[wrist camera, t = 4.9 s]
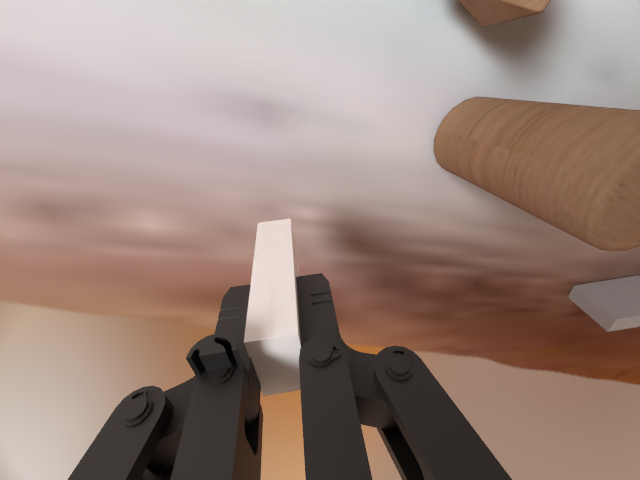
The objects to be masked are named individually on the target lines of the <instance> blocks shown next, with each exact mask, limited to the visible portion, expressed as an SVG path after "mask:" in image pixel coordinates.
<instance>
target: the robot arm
mask: <svg viewBox="0 0 640 480" xmlns="http://www.w3.org/2000/svg"><path fill="white" fill-rule="evenodd" d="M220 309H221V311H220V313H219V317H218V319H219V320H218V322H217V326H216V331H215V334H213V335H210V336H207V337H205V338H203V339H202V340H200V341H198V342H197V343H196V344H195V345H194V346H193V347H192V348H191V350H190V351H189V353H188V355H187V357H186V359H187V361H188V363H189V364H190V366H191V367H192V369H193V371H194V373H195V376H194V377H193V378H191V379H190V380H188V381H186V382H185V383H183V384H180V385H178V386H176V387H173V388H171V389H169V390H167V391H165V392H163V391H162V390H161V388H158V387H155V386H149V387H143V388H140V389H138V390H136V391H134V392H132V393H131V394H130V395H128V396H127V397H126V398H124V399H123V400H122V401H121V403H120V404H119V405H118V406H117V407H116V408H115V410H114V411H113V413H112V414H111V416H110V417H109V419H108V420H107V422H106V423H105V425H104V426H103V428H102V429H101V431H100V432H99V434H98V435H97V437H96V438H95V440H94V441H93V443H92V444H91V446H90V447H89V449H88V450H87V452H86V453H85V455H84V456H83V458H82V459H81V460H80V462H79V464H78V465H77V466H76V468H75V470H74V471H73V472H72V474H71V475H70V477H69V478H68V480H260V475H261V450H262V426H263V413H262V407H261V405H260V391H262V393H263V396H267V395H273V394H279V393H285V392H291V391H297V390H301V404H302V421H303V438H304V456H305V473H306V480H372V476H371V471H370V467H369V462H368V457H367V452H366V448H365V443H364V438H363V434H362V429H361V424H363V425H367V426H372V427H377V429H378V431H379V434H380V435H381V437H382V439H383V442H384V443H385V445H386V448H387V450H388V452H389V454H390V456H391V458H392V460H393V462H394V464H395V466H396V468H397V470H398V472H399V474H400V476H401V478H402V480H512V479H511V478H510V476H509V475H508V474H507V472H506V471H505V470H504V469H503V467H502V466H501V465H500V463H499V462H498V461H497V459H496V458H495V457H494V455H493V454H492V453H491V451H490V450H489V449H488V447H487V446H486V445H485V444H484V442H483V441H482V439H481V438H480V437H479V435H478V434H477V433H476V431H475V430H474V429H473V427H472V426H471V425H470V423H469V422H468V421H467V420H466V418H465V417H464V415H463V414H462V413H461V411H460V410H459V409H458V408H457V406H456V405H455V404H454V402H453V401H452V400H451V398H450V397H449V396H448V394H447V393H446V392H445V390H444V389H443V388H442V386H441V385H440V384H439V382H438V381H437V380H436V379H435V377H434V376H433V374H432V373H431V372H430V370H429V369H428V368H427V367H426V365H425V364H424V363H423V361H422V360H421V358H419V357H418V356H417V355H416V354H415V353H414V352H413V351H411V350H409V349H407V348H405V347H399V346H391V347H386V348H385V349H383V350H382V351H380V352H379V353H378V354H377V355H375V354H368V353H362V352H358V351H355V350H353V349H351V348H350V347H349V346H347V345H346V344H345V343H344V341H343V340H342V338H341V336H340V333H339V328H338V323H337V319H336V314H335V309H334V304H333V300H332V295H331V290H330V285H329V281H328V280H327V279H326V278H325V277H324V276H323V274H322V273H320V274H313V275H306V276H299V265H298V259H297V253H296V247H295V241H294V235H293V229H292V224H291V218H290V219H283V220H276V221H268V222H261V223H258V228H257V236H256V245H255V253H254V261H253V269H252V278H251V285H244V286H237V287H230V289H229V290H228V292H227V293H226V294H225V296H224V297H223V300H222V304H221V308H220Z"/></svg>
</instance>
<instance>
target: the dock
mask: <svg viewBox="0 0 640 480" xmlns="http://www.w3.org/2000/svg"><path fill="white" fill-rule="evenodd" d="M568 298H569V299H570V300H571V301H572V302H574V303H575V304H576V305H577V306H578V307H579V308H581V309H582V310H583V311H584V312H585V313H586V314H588V315H589V316H590V317H591V318H592V319H593V320H594V321H596V322H597V323H598V324H599V325H600V326H601V327H603V328H604V329H605V330H606V331H607V332H610V331H616V330H622V329H628V328H634V327H640V275H636V276H630V277H623V278H617V279H611V280H605V281H598V282H592V283H586V284H580V285H574V286H573V288H572V290H571V292H570V294H569V296H568Z"/></svg>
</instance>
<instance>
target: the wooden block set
mask: <svg viewBox="0 0 640 480" xmlns="http://www.w3.org/2000/svg"><path fill="white" fill-rule="evenodd" d="M458 1H459V2H460V3H461V4H462V5H463V6H464V7H465V8H466V9H467V10H468V12H469V13H470V14H471V15H472V16H473V17H474V18H475V19H476V20H477V21H478V22H479V24H480V25H481V26H482V27H485V26H489V25H493V24H497V23H502V22H506V21H510V20H514V19H518V18H522V17H526V16H530V15H534V14H538V13H541V12H542V11H543V10H544V8H545V7H546V6H547V5H548V3H549V2H550V1H551V0H458ZM434 154H435V157H436V160H437V162H438V163H439V164H440V166H441V167H442V168H444V169H446V170H448V171H450V172H451V173H453V174H455V175H457V176H459V177H461V178H463V179H465V180H467V181H469V182H471V183H473V184H475V185H476V186H478V187H480V188H482V189H484V190H486V191H488V192H490V193H492V194H494V195H496V196H498V197H499V198H501V199H503V200H505V201H507V202H509V203H511V204H513V205H515V206H517V207H519V208H521V209H522V210H524V211H526V212H528V213H530V214H532V215H534V216H536V217H538V218H540V219H542V220H544V221H546V222H547V223H549V224H551V225H553V226H555V227H557V228H559V229H561V230H563V231H565V232H567V233H569V234H570V235H572V236H574V237H576V238H578V239H580V240H582V241H584V242H586V243H588V244H590V245H592V246H594V247H596V248H599V249H601V250H607V251H622V250H628V249H631V248H635V247H638V246H640V111H639V110H628V109H616V108H604V107H593V106H581V105H570V104H558V103H546V102H535V101H523V100H511V99H500V98H488V97H474V98H471V99H467V100H465V101H463V102H462V103H460V104H459V105H457V106H456V107H454V108H453V109H452V110H451V111H450V112H449V113H448V114H447V115H446V116H445V118H444V119H443V121H442V122H441V124H440V126H439V127H438V129H437V133H436V136H435V139H434Z"/></svg>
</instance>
